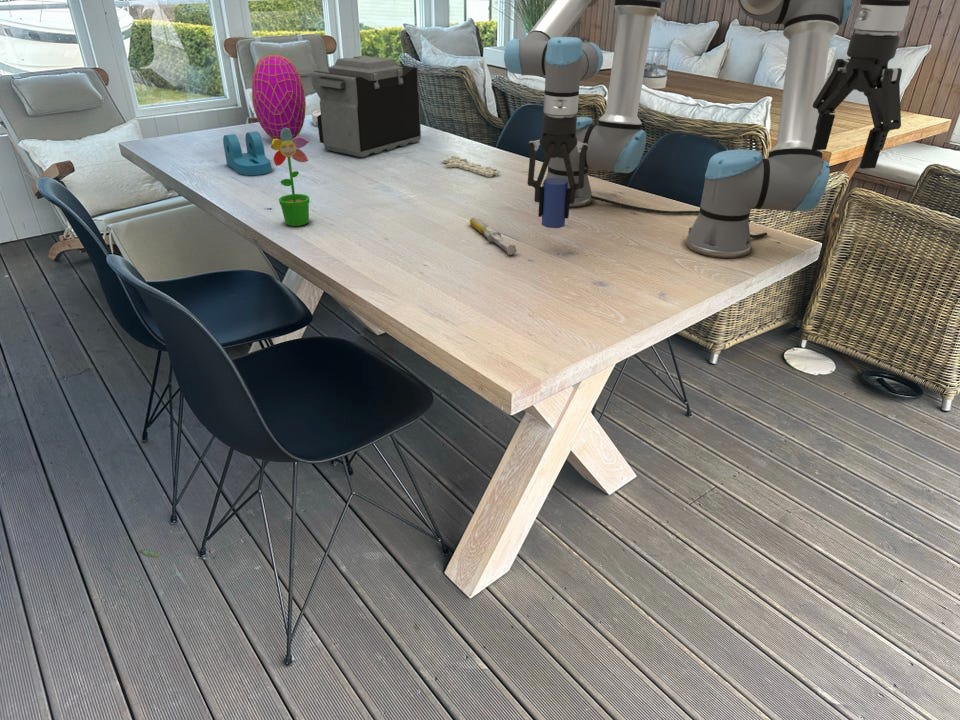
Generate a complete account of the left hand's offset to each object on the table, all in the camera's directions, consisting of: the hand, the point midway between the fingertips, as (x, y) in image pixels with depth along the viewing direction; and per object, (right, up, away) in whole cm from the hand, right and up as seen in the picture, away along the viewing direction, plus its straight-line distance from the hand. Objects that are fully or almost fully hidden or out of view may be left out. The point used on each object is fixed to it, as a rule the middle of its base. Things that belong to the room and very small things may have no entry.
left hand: (553, 215), depth 164 cm
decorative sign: (-22, +30, +69) cm, 78 cm away
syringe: (-15, -4, +11) cm, 19 cm away
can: (0, -2, +1) cm, 2 cm away
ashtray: (-77, +67, +129) cm, 164 cm away
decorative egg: (-93, +50, +101) cm, 146 cm away
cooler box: (-58, +46, +94) cm, 120 cm away
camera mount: (-94, +29, +66) cm, 118 cm away
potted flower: (-66, +2, +20) cm, 69 cm away
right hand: (+50, +3, -36) cm, 61 cm away
